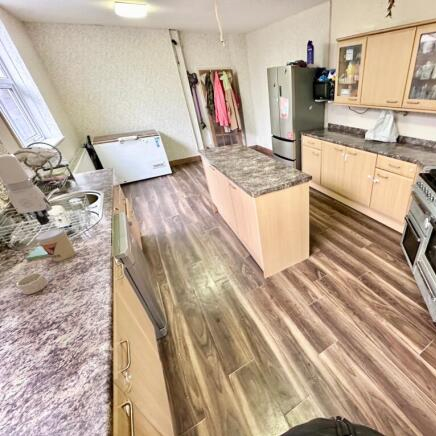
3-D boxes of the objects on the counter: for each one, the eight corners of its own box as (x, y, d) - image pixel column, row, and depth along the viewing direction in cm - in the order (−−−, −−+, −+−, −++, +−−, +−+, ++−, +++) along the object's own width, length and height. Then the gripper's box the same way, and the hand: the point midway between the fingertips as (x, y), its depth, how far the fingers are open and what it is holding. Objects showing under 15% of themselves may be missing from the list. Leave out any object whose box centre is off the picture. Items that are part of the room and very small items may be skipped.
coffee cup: (45, 262, 101) (28, 239, 96) (65, 249, 110) (51, 227, 104) (63, 263, 100) (48, 240, 94) (83, 249, 108) (69, 228, 102)
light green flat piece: (27, 260, 103) (23, 255, 102) (41, 247, 112) (38, 242, 110) (58, 254, 106) (54, 249, 104) (70, 242, 114) (66, 237, 113)
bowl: (18, 297, 84) (10, 288, 82) (31, 283, 90) (24, 275, 88) (41, 292, 86) (34, 283, 83) (52, 279, 91) (46, 270, 89)
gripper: (-10, 191, 91) (19, 230, 101) (36, 185, 95) (60, 224, 104) (5, 185, 98) (31, 222, 107) (47, 179, 101) (69, 216, 110)
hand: (45, 223), depth 105 cm, fingers closed
